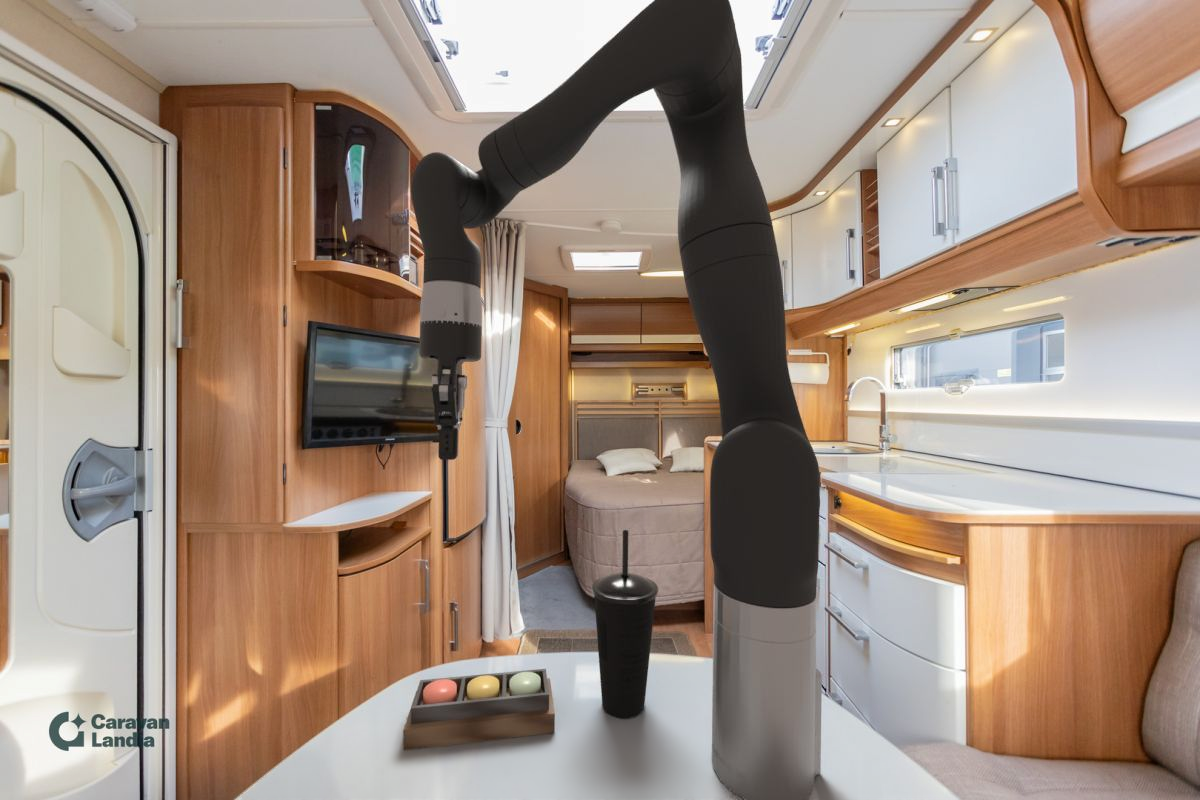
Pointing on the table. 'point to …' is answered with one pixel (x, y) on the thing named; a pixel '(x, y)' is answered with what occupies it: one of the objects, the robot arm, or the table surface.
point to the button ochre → (483, 688)
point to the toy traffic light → (479, 714)
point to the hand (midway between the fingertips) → (448, 458)
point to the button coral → (440, 692)
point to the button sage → (525, 684)
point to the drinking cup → (624, 637)
